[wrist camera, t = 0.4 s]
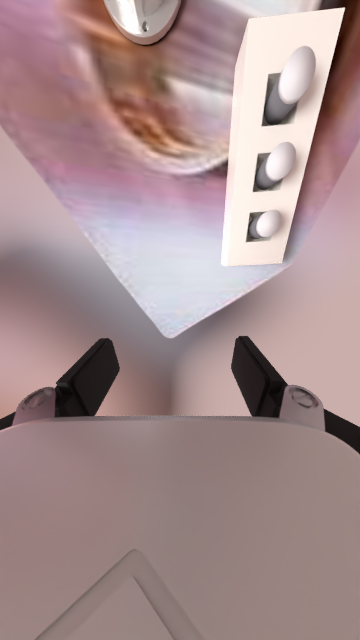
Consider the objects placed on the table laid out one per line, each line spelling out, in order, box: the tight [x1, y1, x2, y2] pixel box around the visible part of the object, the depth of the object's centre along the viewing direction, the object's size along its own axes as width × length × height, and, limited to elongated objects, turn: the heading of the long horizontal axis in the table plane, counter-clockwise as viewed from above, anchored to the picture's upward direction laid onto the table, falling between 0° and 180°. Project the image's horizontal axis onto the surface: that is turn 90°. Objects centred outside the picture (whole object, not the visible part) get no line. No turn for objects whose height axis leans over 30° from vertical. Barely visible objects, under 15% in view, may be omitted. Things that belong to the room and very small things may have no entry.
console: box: [221, 8, 345, 266], centre depth 26 cm, size 30×12×5 cm, turn 3°
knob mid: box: [255, 142, 296, 190], centre depth 23 cm, size 4×4×4 cm
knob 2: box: [264, 46, 316, 126], centre depth 19 cm, size 4×4×4 cm
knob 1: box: [248, 210, 282, 239], centre depth 26 cm, size 4×4×4 cm
